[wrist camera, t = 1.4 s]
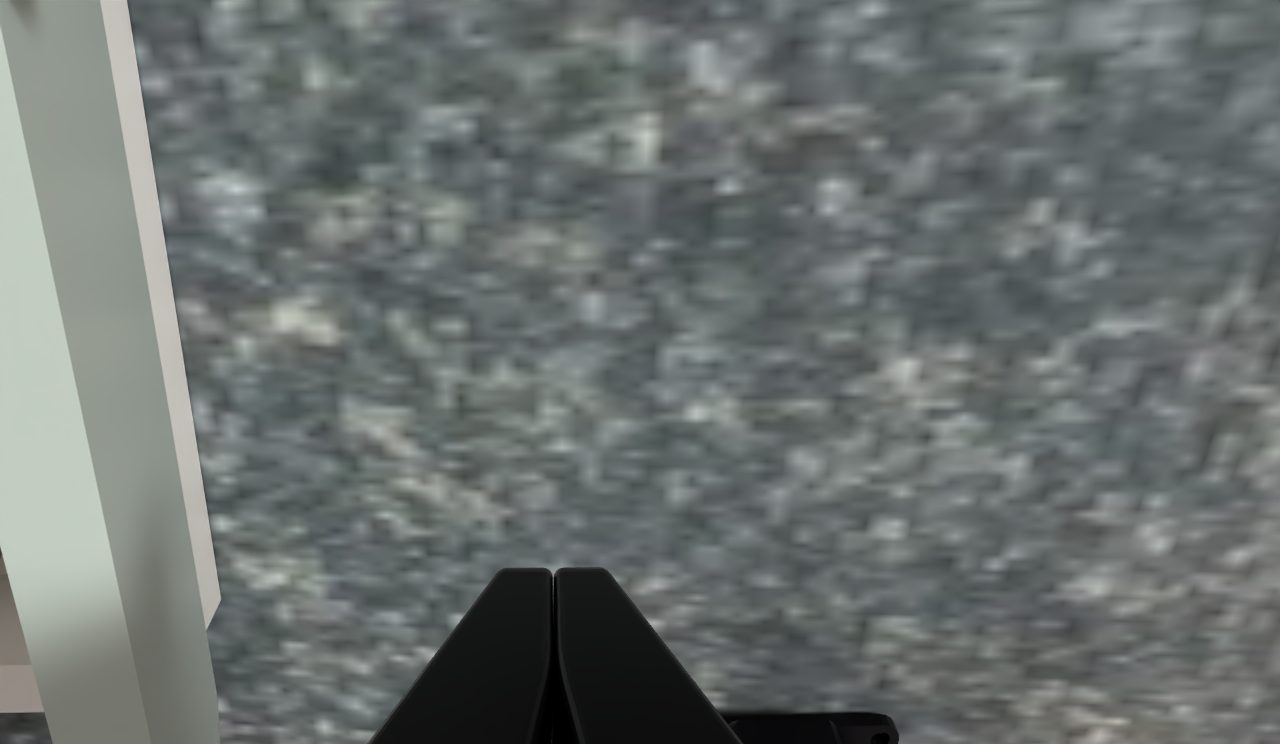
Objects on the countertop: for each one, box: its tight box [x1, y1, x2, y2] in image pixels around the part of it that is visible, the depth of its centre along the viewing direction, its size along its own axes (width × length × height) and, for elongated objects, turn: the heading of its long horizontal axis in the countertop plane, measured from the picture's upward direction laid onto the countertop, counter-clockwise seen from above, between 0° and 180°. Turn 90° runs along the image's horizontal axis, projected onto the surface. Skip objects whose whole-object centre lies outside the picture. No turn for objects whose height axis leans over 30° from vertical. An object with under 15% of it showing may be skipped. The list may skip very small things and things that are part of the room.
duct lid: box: [0, 0, 220, 744], centre depth 12 cm, size 20×9×1 cm
